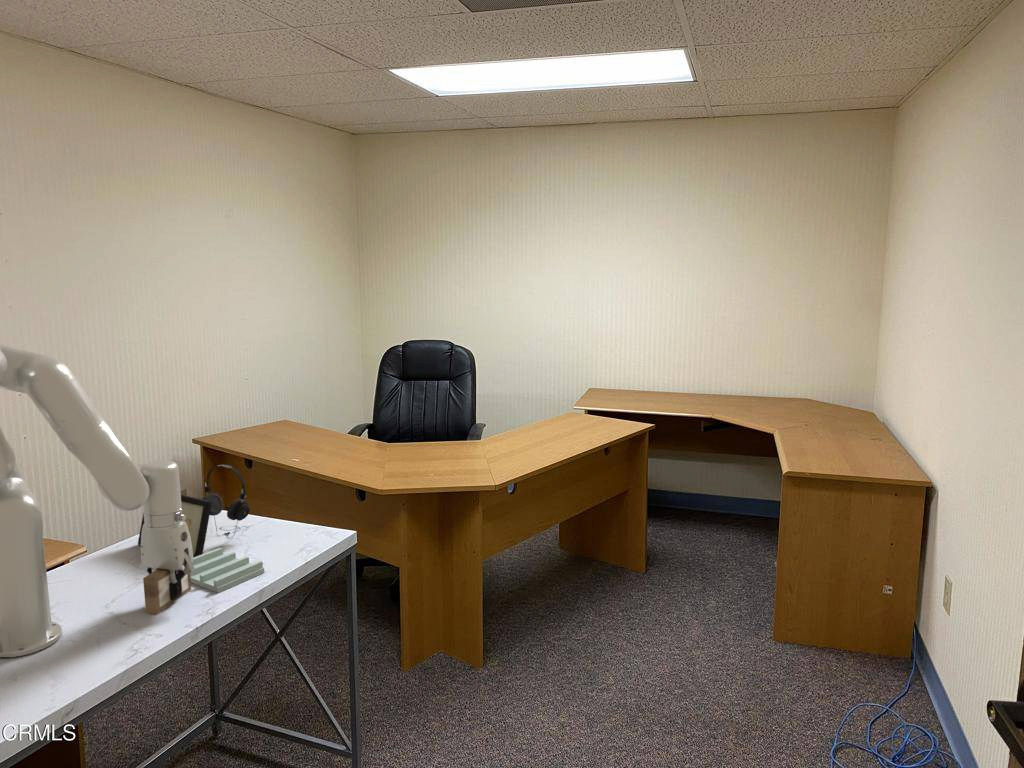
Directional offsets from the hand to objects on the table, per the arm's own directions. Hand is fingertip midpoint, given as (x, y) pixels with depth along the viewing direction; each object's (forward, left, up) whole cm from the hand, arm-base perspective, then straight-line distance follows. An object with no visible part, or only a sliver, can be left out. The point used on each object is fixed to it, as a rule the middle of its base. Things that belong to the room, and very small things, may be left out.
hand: (169, 596), depth 164 cm
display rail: (+15, +3, -1) cm, 15 cm away
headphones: (+34, +22, -1) cm, 40 cm away
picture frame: (+20, +25, -1) cm, 32 cm away
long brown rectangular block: (0, 0, -1) cm, 1 cm away
